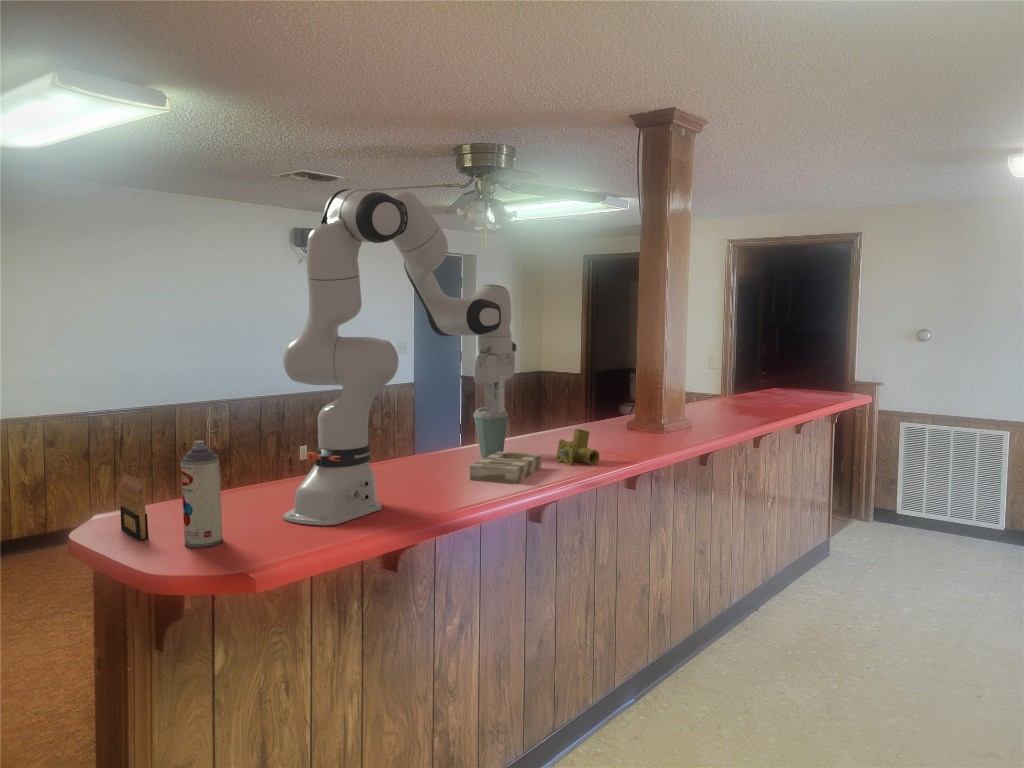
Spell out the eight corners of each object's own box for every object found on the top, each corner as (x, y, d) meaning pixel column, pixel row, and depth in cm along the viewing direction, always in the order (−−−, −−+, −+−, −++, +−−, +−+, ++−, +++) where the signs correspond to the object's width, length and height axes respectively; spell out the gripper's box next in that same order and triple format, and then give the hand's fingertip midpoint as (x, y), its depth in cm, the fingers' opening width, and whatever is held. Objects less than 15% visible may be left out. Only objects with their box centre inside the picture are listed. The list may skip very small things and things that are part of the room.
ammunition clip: (148, 539, 145) (145, 479, 143) (138, 541, 143) (135, 481, 142) (130, 527, 152) (127, 471, 151) (121, 529, 151) (117, 472, 150)
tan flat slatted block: (516, 483, 189) (516, 468, 189) (470, 479, 194) (470, 465, 194) (541, 468, 208) (541, 454, 208) (498, 464, 213) (498, 451, 212)
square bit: (499, 413, 193) (498, 375, 191) (485, 412, 194) (484, 375, 193) (504, 411, 196) (504, 374, 195) (490, 410, 198) (490, 373, 196)
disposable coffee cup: (508, 460, 219) (508, 410, 217) (472, 460, 219) (472, 411, 217) (508, 453, 229) (508, 406, 228) (474, 453, 229) (473, 406, 228)
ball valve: (571, 460, 224) (546, 459, 218) (576, 427, 223) (551, 425, 217) (599, 469, 214) (573, 469, 208) (604, 435, 213) (579, 434, 207)
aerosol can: (181, 541, 143) (176, 440, 141) (217, 535, 147) (213, 437, 145) (189, 550, 138) (184, 446, 135) (226, 543, 142) (222, 442, 139)
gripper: (491, 349, 182) (491, 404, 184) (518, 344, 201) (518, 394, 203) (467, 348, 185) (468, 403, 186) (497, 344, 204) (497, 393, 205)
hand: (495, 398), depth 195 cm, fingers closed on square bit, 4 cm apart
